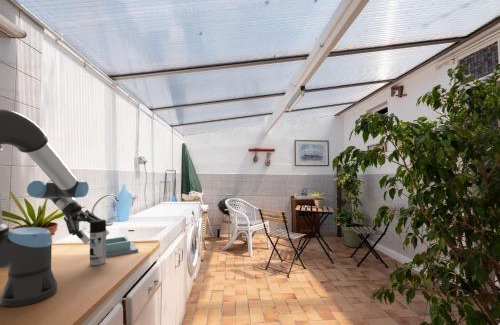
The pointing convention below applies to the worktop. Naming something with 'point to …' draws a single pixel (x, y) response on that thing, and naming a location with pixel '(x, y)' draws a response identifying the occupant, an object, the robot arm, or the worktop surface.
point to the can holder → (119, 246)
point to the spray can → (97, 242)
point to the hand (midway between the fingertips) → (98, 238)
